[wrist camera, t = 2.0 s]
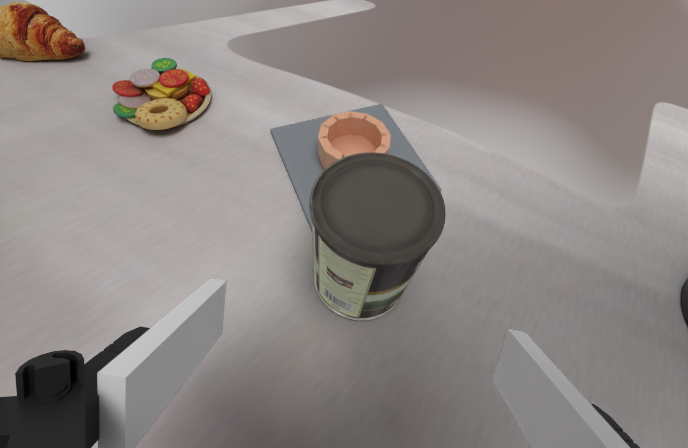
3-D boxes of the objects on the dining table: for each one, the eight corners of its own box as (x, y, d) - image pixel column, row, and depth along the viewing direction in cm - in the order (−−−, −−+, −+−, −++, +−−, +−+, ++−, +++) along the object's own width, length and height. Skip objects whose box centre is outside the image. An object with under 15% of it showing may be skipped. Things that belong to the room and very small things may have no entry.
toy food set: (165, 148, 45) (154, 130, 42) (98, 111, 48) (85, 92, 45) (230, 97, 51) (225, 78, 48) (168, 67, 54) (160, 48, 51)
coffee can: (405, 241, 39) (443, 159, 27) (403, 327, 34) (449, 273, 22) (320, 229, 39) (321, 143, 27) (304, 313, 34) (296, 252, 22)
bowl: (368, 128, 48) (371, 106, 45) (396, 173, 44) (402, 152, 41) (309, 142, 46) (309, 120, 43) (333, 191, 42) (334, 170, 38)
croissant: (-16, 63, 57) (-79, 32, 49) (1, 9, 57) (-58, -30, 49) (92, 86, 55) (45, 58, 47) (110, 30, 55) (66, -7, 47)
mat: (381, 106, 52) (381, 103, 51) (440, 191, 43) (441, 189, 43) (270, 131, 47) (270, 129, 47) (312, 232, 39) (312, 229, 38)
